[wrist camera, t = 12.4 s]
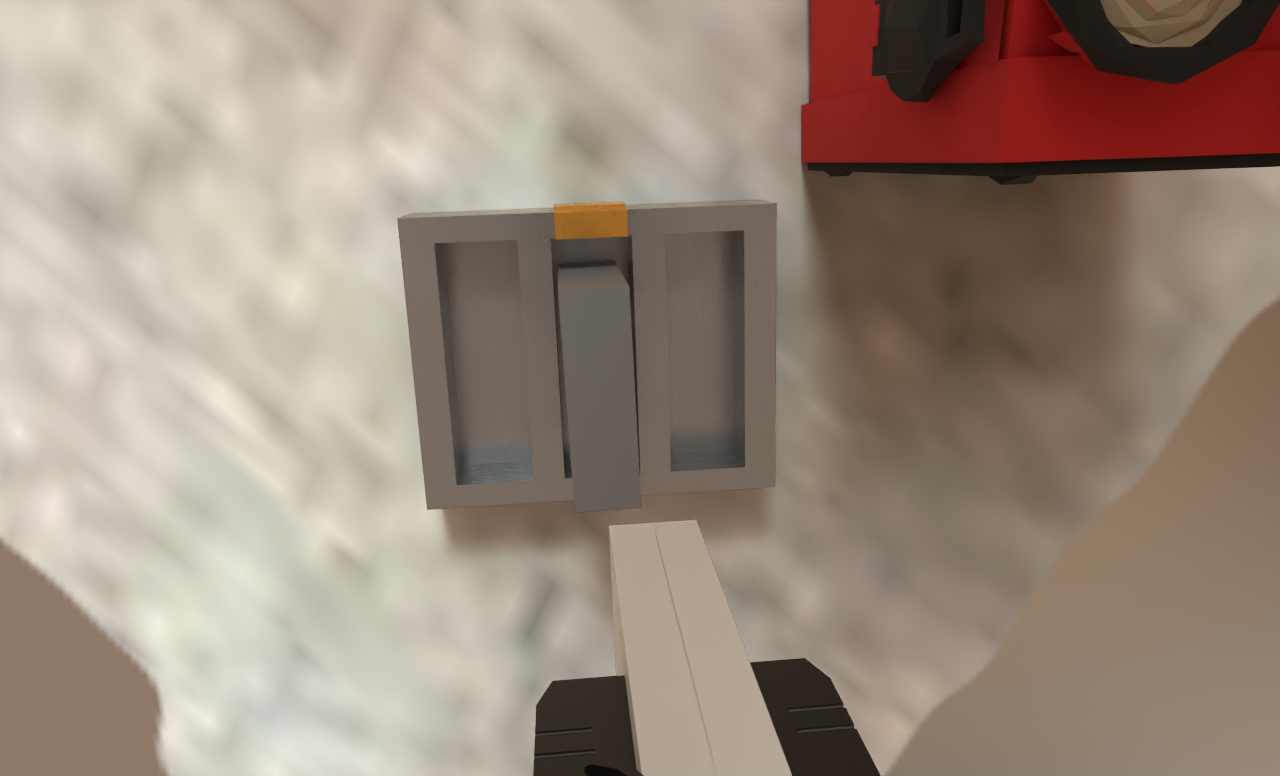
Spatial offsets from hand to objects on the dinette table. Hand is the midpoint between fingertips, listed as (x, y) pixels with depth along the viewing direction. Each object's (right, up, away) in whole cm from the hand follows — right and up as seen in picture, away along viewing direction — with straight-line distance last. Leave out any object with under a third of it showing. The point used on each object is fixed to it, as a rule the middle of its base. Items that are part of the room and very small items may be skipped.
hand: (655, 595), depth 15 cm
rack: (-2, +6, +24) cm, 24 cm away
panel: (-2, +5, +23) cm, 24 cm away
